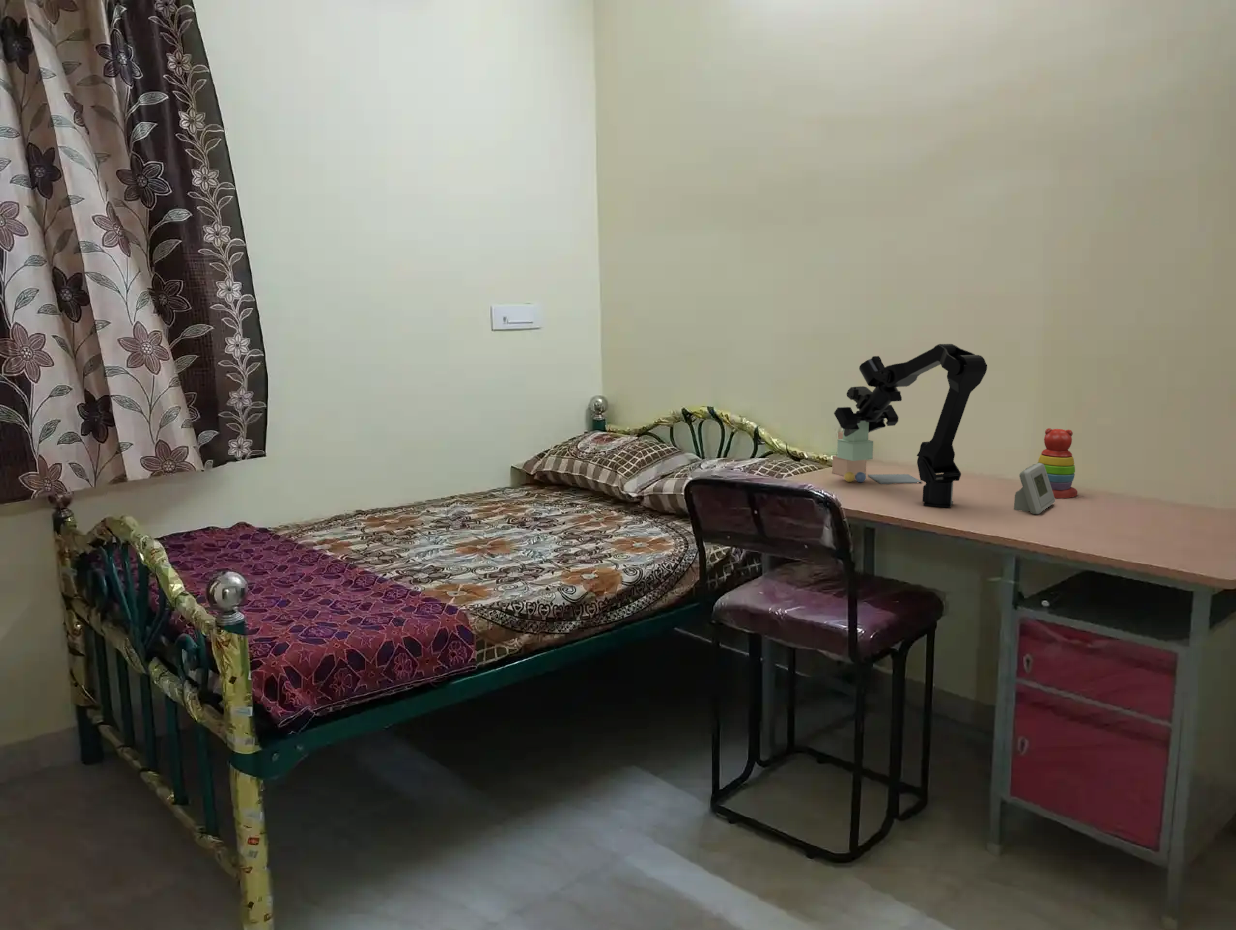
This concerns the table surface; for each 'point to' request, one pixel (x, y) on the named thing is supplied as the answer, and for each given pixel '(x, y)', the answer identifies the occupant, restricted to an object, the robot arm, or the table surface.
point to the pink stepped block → (847, 464)
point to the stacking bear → (1059, 462)
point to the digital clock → (1034, 490)
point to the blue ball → (860, 477)
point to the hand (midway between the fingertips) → (852, 434)
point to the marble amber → (849, 476)
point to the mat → (893, 478)
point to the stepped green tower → (856, 444)
